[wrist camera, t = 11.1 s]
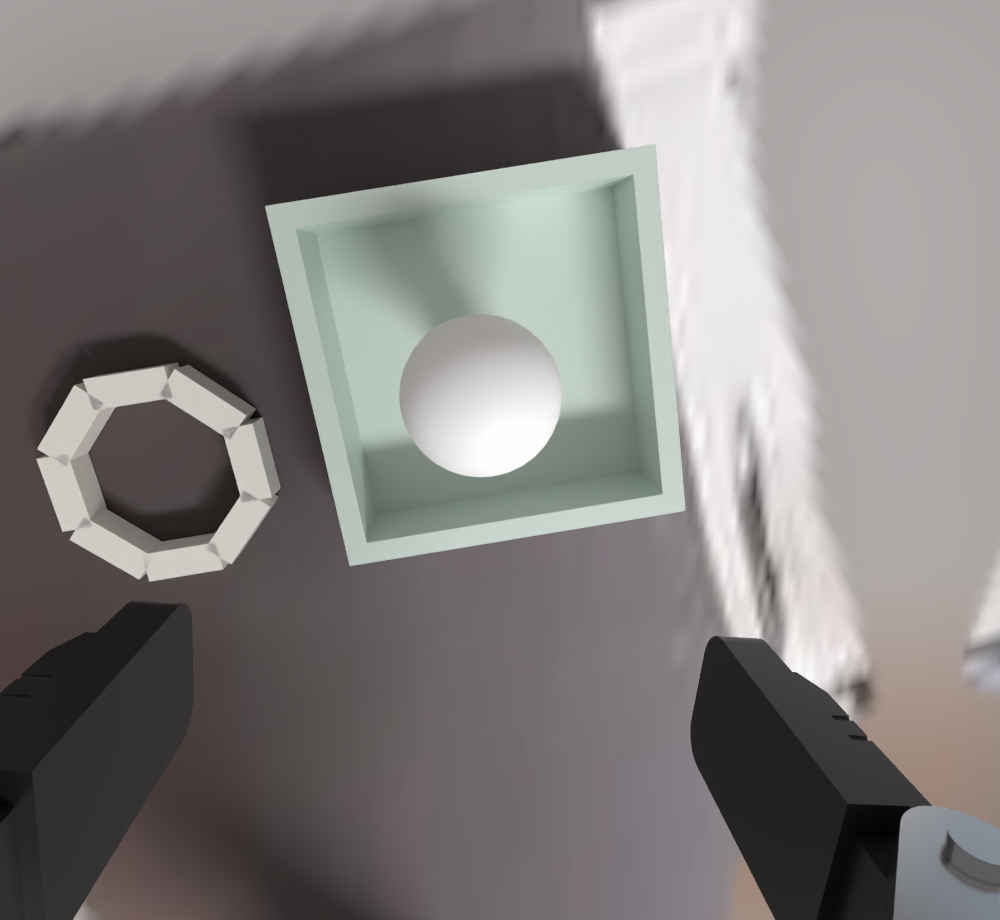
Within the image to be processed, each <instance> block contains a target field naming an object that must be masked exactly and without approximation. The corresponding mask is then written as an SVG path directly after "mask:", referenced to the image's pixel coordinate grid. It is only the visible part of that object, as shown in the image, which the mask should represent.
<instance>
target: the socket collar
mask: <svg viewBox="0 0 1000 920" xmlns="http://www.w3.org/2000/svg"><path fill="white" fill-rule="evenodd" d="M83 381H84V383H80V384H77V385H74V387H73V388H72V390H71V392H70V394H69V395H68V397H67V399H66V400H65V402H64V404H63V406H62V407H61V409H60V411H59V412H58V414H57V416H56V418H55V419H54V421H53V423H52V424H51V426H50V428H49V430H48V431H47V433H46V435H45V436H44V438H43V440H42V442H41V443H40V445H39V447H38V448H37V449H38V450H40V451H41V452H43V453H45V454H46V455H45V456H42V457H40V458H38V459H37V462H38V465H39V468H40V470H41V473H42V476H43V479H44V481H45V484H46V487H47V490H48V493H49V495H50V498H51V501H52V504H53V506H54V509H55V512H56V515H57V518H58V520H59V523H60V526H61V529H62V531H63V532H64V531H70V530H75V532H74V533H73V535H72V537H71V538H70V540H71V541H73V542H74V543H76V544H78V545H80V546H81V547H83V548H85V549H87V550H88V551H90V552H92V553H94V554H95V555H97V556H99V557H101V558H102V559H104V560H106V561H108V562H109V563H111V564H113V565H115V566H116V567H118V568H120V569H122V570H123V571H125V572H127V573H129V574H130V575H132V576H134V577H136V578H137V579H140V578H142V577H143V576H144V575H145V574H146V573H147V575H148V578H149V581H156V580H162V579H168V578H174V577H180V576H186V575H192V574H198V573H205V572H211V571H217V570H223V569H224V568H225V567H226V566H227V564H228V563H230V564H232V563H233V562H234V561H235V559H236V558H237V557H238V556H239V554H240V553H241V552H242V551H243V549H244V548H245V546H246V545H247V543H248V542H249V540H250V539H251V537H252V536H253V534H254V533H255V532H256V530H257V529H258V527H259V526H260V524H261V523H262V521H263V520H264V518H265V517H266V515H267V514H268V512H269V511H270V509H271V508H272V507H273V505H274V504H275V502H276V501H277V499H278V498H279V496H277V495H275V494H276V492H277V491H278V490H279V489H280V488H281V487H280V483H279V479H278V476H277V472H276V468H275V464H274V460H273V456H272V452H271V448H270V445H269V441H268V437H267V433H266V429H265V425H264V421H263V417H261V418H255V419H250V418H251V416H252V415H253V413H254V412H255V410H256V408H254V407H252V406H251V405H249V404H248V403H246V402H245V401H243V400H242V399H240V398H239V397H237V396H236V395H234V394H233V393H231V392H230V391H228V390H226V389H225V388H223V387H222V386H220V385H219V384H217V383H216V382H214V381H213V380H211V379H210V378H208V377H207V376H205V375H203V374H202V373H200V372H199V371H197V370H196V369H194V368H193V367H191V366H190V365H186V366H183V367H179V364H178V362H177V363H171V364H165V365H158V366H152V367H146V368H140V369H134V370H127V371H121V372H115V373H109V374H103V375H98V376H94V377H90V378H86V379H83ZM161 399H167V400H168V401H170V402H171V403H173V404H174V405H176V406H178V407H179V408H181V409H182V410H184V411H185V412H187V413H189V414H190V415H192V416H193V417H195V418H196V419H198V420H200V421H201V422H203V423H204V424H206V425H207V426H209V427H211V428H212V429H214V430H215V431H217V432H218V433H220V434H222V435H223V436H224V439H225V442H226V446H227V449H228V453H229V457H230V460H231V464H232V468H233V471H234V475H235V478H236V482H237V486H238V489H239V493H240V497H239V499H238V500H237V502H236V503H235V505H234V506H233V508H232V509H231V511H230V512H229V514H228V515H227V517H226V518H225V520H224V521H223V523H222V524H221V526H220V527H219V529H218V530H217V532H216V533H211V534H205V535H199V536H192V537H186V538H180V539H174V540H168V541H160V540H158V539H157V538H155V537H153V536H152V535H150V534H148V533H146V532H145V531H143V530H141V529H140V528H138V527H136V526H135V525H133V524H131V523H129V522H128V521H126V520H124V519H123V518H121V517H119V516H118V515H116V514H114V513H112V512H111V511H109V510H107V507H106V504H105V501H104V498H103V495H102V492H101V489H100V486H99V483H98V480H97V477H96V474H95V471H94V468H93V465H92V462H91V459H90V456H89V453H88V452H89V450H90V449H91V447H92V445H93V444H94V442H95V440H96V439H97V437H98V435H99V434H100V432H101V431H102V429H103V427H104V426H105V424H106V422H107V421H108V419H109V417H110V416H111V414H112V412H113V411H114V409H115V407H118V406H124V405H130V404H136V403H143V402H149V401H155V400H161Z"/></svg>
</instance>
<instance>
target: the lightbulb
mask: <svg viewBox="0 0 1000 920" xmlns="http://www.w3.org/2000/svg"><path fill="white" fill-rule="evenodd" d="M399 400H400V411H401V414H402V417H403V421H404V424H405V427H406V428H407V430H408V432H409V434H410V436H411V438H412V440H413V442H414V443H415V444H416V445H417V446H418V448H419V449H420V450H421V451H422V453H423V454H424V455H426V456H427V457H428V458H429V459H430V460H432V461H433V462H434V463H435V464H437V465H439V466H441V467H443V468H444V469H446V470H448V471H451V472H454V473H457V474H460V475H464V476H472V477H491V476H497V475H501V474H505V473H508V472H511V471H513V470H515V469H517V468H519V467H521V466H523V465H524V464H526V463H527V462H528V461H530V460H531V459H533V458H534V457H535V456H536V455H537V454H538V453H539V452H540V451H541V450H542V449H543V448H544V446H545V445H546V443H547V442H548V440H549V439H550V437H551V436H552V434H553V432H554V429H555V427H556V424H557V421H558V419H559V415H560V409H561V403H562V385H561V381H560V377H559V372H558V369H557V367H556V364H555V362H554V360H553V358H552V356H551V354H550V353H549V351H548V350H547V349H546V347H545V346H544V344H543V343H542V342H541V341H540V340H539V339H538V338H537V337H536V336H535V335H534V334H533V333H532V332H531V331H529V330H528V329H526V328H525V327H523V326H522V325H520V324H518V323H517V322H515V321H512V320H509V319H506V318H504V317H501V316H495V315H489V314H472V315H465V316H461V317H457V318H453V319H451V320H449V321H447V322H445V323H443V324H441V325H439V326H437V327H436V328H434V329H433V330H432V331H430V332H429V333H428V334H427V335H425V336H424V337H423V339H422V340H421V341H420V342H419V343H418V344H417V346H416V347H415V348H414V349H413V351H412V353H411V355H410V357H409V358H408V360H407V362H406V364H405V367H404V370H403V373H402V376H401V380H400V390H399Z"/></svg>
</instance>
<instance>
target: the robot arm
mask: <svg viewBox="0 0 1000 920" xmlns="http://www.w3.org/2000/svg"><path fill="white" fill-rule="evenodd" d="M192 706H193V649H192V616H191V611H190V608H189V606H188V605H187V604H182V603H165V602H149V601H131V602H129V603H128V604H126V605H125V606H124V607H123V608H122V609H121V610H120V611H119V612H118V613H117V614H116V615H115V616H114V617H113V618H112V619H110V620H109V621H108V622H107V623H106V624H105V625H104V626H103V627H102V628H101V629H100V630H99V631H98V632H97V633H90V632H85V633H83V634H81V635H79V636H77V637H75V638H73V639H71V640H69V641H67V642H65V643H63V644H61V645H59V646H57V647H55V648H53V649H51V650H49V651H48V652H47V653H45V654H44V655H43V656H42V657H41V658H40V659H39V660H37V661H36V662H35V663H34V664H33V665H32V666H31V667H29V668H28V669H27V670H26V671H25V672H24V673H23V674H22V677H21V679H16V680H15V681H13V682H12V683H11V684H10V685H9V686H8V687H7V688H5V689H4V690H3V691H2V692H1V693H0V920H73V918H74V917H75V915H76V913H77V912H78V910H79V909H80V907H81V905H82V904H83V902H84V900H85V899H86V897H87V895H88V894H89V892H90V891H91V889H92V887H93V886H94V884H95V882H96V881H97V879H98V878H99V876H100V874H101V873H102V871H103V869H104V868H105V866H106V864H107V863H108V861H109V860H110V858H111V856H112V855H113V853H114V851H115V850H116V848H117V847H118V845H119V843H120V842H121V840H122V838H123V837H124V835H125V833H126V832H127V830H128V829H129V827H130V825H131V824H132V822H133V820H134V819H135V817H136V816H137V814H138V812H139V811H140V809H141V807H142V806H143V804H144V802H145V801H146V799H147V798H148V796H149V794H150V793H151V791H152V789H153V788H154V786H155V785H156V783H157V781H158V780H159V778H160V776H161V775H162V773H163V771H164V770H165V768H166V767H167V765H168V763H169V762H170V760H171V758H172V757H173V755H174V754H175V752H176V750H177V749H178V747H179V745H180V744H181V742H182V740H183V738H184V736H185V733H186V731H187V728H188V725H189V721H190V717H191V712H192ZM691 746H692V752H693V756H694V759H695V762H696V764H697V767H698V769H699V771H700V773H701V775H702V777H703V779H704V780H705V782H706V784H707V786H708V788H709V790H710V792H711V794H712V796H713V798H714V800H715V802H716V804H717V806H718V808H719V810H720V812H721V814H722V816H723V818H724V820H725V822H726V824H727V826H728V828H729V830H730V832H731V834H732V836H733V838H734V839H735V841H736V843H737V845H738V847H739V849H740V851H741V853H742V855H743V857H744V859H745V861H746V863H747V865H748V867H749V869H750V871H751V873H752V875H753V877H754V879H755V881H756V883H757V885H758V887H759V889H760V891H761V893H762V894H763V897H764V898H765V900H766V902H767V904H768V906H769V908H770V910H771V912H772V914H773V916H774V918H775V920H1000V830H999V829H997V828H995V827H993V826H991V825H990V824H988V823H986V822H984V821H982V820H979V819H977V818H975V817H973V816H970V815H967V814H965V813H962V812H959V811H956V810H952V809H948V808H943V807H937V806H932V805H931V804H930V803H929V802H928V801H927V800H926V799H925V798H924V797H923V796H922V794H921V793H920V792H919V791H918V790H917V789H916V788H915V787H914V786H913V785H912V784H911V783H910V782H909V780H908V779H907V778H906V777H905V776H904V775H903V774H902V773H901V772H900V771H899V770H898V769H897V768H896V766H895V765H894V764H893V763H892V762H891V761H890V760H889V759H888V758H887V757H886V756H885V755H884V753H883V752H882V751H881V750H880V749H879V748H878V747H877V746H876V745H875V744H874V743H873V742H872V741H868V740H867V735H866V734H865V733H864V732H863V731H862V730H861V729H860V728H859V727H858V725H857V724H856V723H855V722H854V721H849V716H848V715H847V714H846V712H845V711H844V710H843V709H842V708H841V707H840V706H839V705H838V704H837V703H836V702H835V701H834V700H833V698H832V697H831V696H830V695H829V694H828V693H827V692H825V691H824V690H822V689H821V688H819V687H818V686H816V685H815V684H813V683H812V682H810V681H809V680H807V679H806V678H804V677H803V676H801V675H799V674H798V673H796V672H792V671H791V670H790V669H789V668H788V667H787V666H786V664H785V663H784V662H783V661H782V660H781V659H780V658H779V657H778V655H777V654H776V653H775V652H774V651H773V650H772V649H771V648H770V646H769V645H768V644H767V643H766V642H765V641H764V640H762V639H756V638H739V637H722V636H714V637H712V638H711V639H710V640H709V642H708V644H707V646H706V649H705V654H704V659H703V664H702V669H701V674H700V679H699V684H698V689H697V694H696V700H695V705H694V710H693V715H692V720H691Z"/></svg>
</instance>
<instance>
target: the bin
mask: <svg viewBox="0 0 1000 920" xmlns="http://www.w3.org/2000/svg"><path fill="white" fill-rule="evenodd" d="M265 209H266V213H267V217H268V221H269V226H270V230H271V234H272V238H273V242H274V247H275V251H276V255H277V259H278V264H279V268H280V272H281V276H282V281H283V285H284V289H285V293H286V298H287V302H288V306H289V310H290V315H291V319H292V323H293V327H294V331H295V336H296V340H297V344H298V348H299V353H300V357H301V361H302V365H303V370H304V374H305V378H306V382H307V387H308V391H309V395H310V399H311V404H312V408H313V412H314V416H315V420H316V425H317V429H318V433H319V437H320V442H321V446H322V450H323V454H324V459H325V463H326V467H327V471H328V476H329V480H330V484H331V488H332V493H333V497H334V501H335V505H336V509H337V514H338V518H339V522H340V526H341V531H342V535H343V539H344V543H345V548H346V552H347V556H348V560H349V565H350V566H353V565H360V564H366V563H372V562H378V561H384V560H390V559H396V558H402V557H408V556H414V555H420V554H426V553H432V552H438V551H444V550H450V549H457V548H463V547H469V546H475V545H481V544H487V543H493V542H499V541H505V540H511V539H517V538H523V537H529V536H535V535H541V534H548V533H554V532H560V531H566V530H572V529H578V528H584V527H590V526H596V525H602V524H608V523H614V522H620V521H626V520H632V519H639V518H645V517H651V516H657V515H663V514H669V513H675V512H681V511H685V500H684V488H683V476H682V464H681V451H680V439H679V427H678V415H677V403H676V391H675V378H674V366H673V354H672V342H671V330H670V318H669V305H668V293H667V281H666V269H665V257H664V245H663V232H662V220H661V208H660V196H659V184H658V172H657V160H656V147H655V144H653V145H647V146H640V147H634V148H628V149H621V150H615V151H609V152H602V153H596V154H590V155H583V156H577V157H571V158H565V159H558V160H552V161H546V162H539V163H533V164H527V165H520V166H514V167H508V168H501V169H495V170H489V171H483V172H476V173H470V174H464V175H457V176H451V177H445V178H438V179H432V180H426V181H419V182H413V183H407V184H401V185H394V186H388V187H382V188H375V189H369V190H363V191H356V192H350V193H344V194H337V195H331V196H325V197H319V198H312V199H306V200H300V201H293V202H287V203H281V204H274V205H268V206H265ZM472 314H489V315H495V316H501V317H504V318H506V319H509V320H512V321H515V322H517V323H518V324H520V325H522V326H523V327H525V328H526V329H528V330H529V331H531V332H532V333H533V334H534V335H535V336H536V337H537V338H538V339H539V340H540V341H541V342H542V343H543V344H544V346H545V347H546V349H547V350H548V351H549V353H550V354H551V356H552V358H553V360H554V362H555V364H556V367H557V369H558V372H559V377H560V381H561V385H562V403H561V409H560V415H559V419H558V421H557V424H556V427H555V429H554V432H553V434H552V436H551V437H550V439H549V440H548V442H547V443H546V445H545V446H544V448H543V449H542V450H541V451H540V452H539V453H538V454H537V455H536V456H535V457H534V458H533V459H531V460H530V461H528V462H527V463H526V464H524V465H523V466H521V467H519V468H517V469H515V470H513V471H511V472H508V473H505V474H501V475H497V476H491V477H472V476H464V475H460V474H457V473H454V472H451V471H448V470H446V469H444V468H443V467H441V466H439V465H437V464H435V463H434V462H433V461H432V460H430V459H429V458H428V457H427V456H426V455H424V454H423V453H422V451H421V450H420V449H419V448H418V446H417V445H416V444H415V443H414V442H413V440H412V438H411V436H410V434H409V432H408V430H407V428H406V427H405V424H404V421H403V417H402V414H401V411H400V400H399V390H400V380H401V376H402V373H403V370H404V367H405V364H406V362H407V360H408V358H409V357H410V355H411V353H412V351H413V349H414V348H415V347H416V346H417V344H418V343H419V342H420V341H421V340H422V339H423V337H424V336H425V335H427V334H428V333H429V332H430V331H432V330H433V329H434V328H436V327H437V326H439V325H441V324H443V323H445V322H447V321H449V320H451V319H453V318H457V317H461V316H465V315H472Z"/></svg>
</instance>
